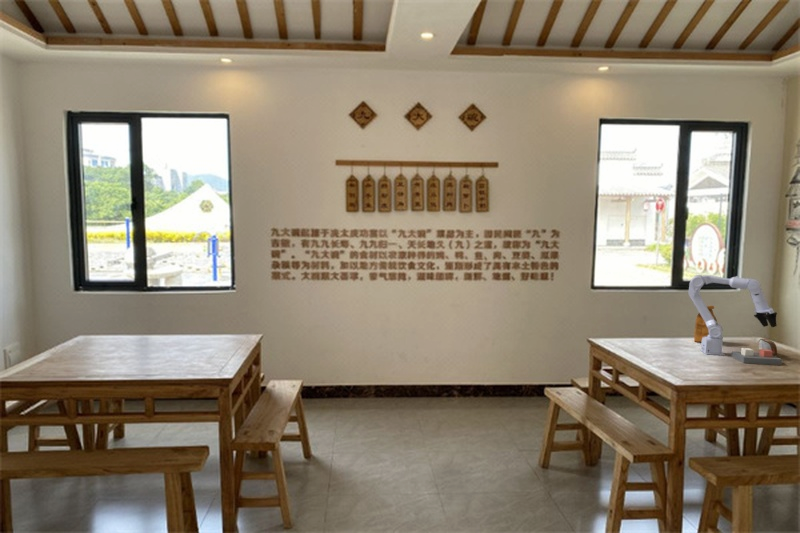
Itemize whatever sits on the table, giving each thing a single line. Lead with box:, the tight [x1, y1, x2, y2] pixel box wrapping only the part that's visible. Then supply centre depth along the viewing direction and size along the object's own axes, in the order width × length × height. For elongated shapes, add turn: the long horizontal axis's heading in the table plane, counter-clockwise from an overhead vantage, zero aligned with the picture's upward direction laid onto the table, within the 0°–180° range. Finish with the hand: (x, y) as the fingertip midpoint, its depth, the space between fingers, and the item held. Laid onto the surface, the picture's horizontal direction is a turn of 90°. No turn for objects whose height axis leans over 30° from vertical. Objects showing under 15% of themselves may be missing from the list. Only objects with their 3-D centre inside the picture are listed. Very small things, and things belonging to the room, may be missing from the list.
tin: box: [758, 338, 778, 357], centre depth 278 cm, size 15×3×8 cm, turn 168°
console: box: [731, 351, 783, 366], centre depth 266 cm, size 18×12×3 cm, turn 83°
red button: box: [758, 349, 773, 357], centre depth 265 cm, size 4×4×4 cm
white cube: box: [740, 347, 755, 356], centre depth 266 cm, size 4×4×4 cm
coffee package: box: [693, 305, 718, 343], centre depth 304 cm, size 10×12×22 cm
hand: (770, 326), depth 265 cm, fingers open, 7 cm apart
